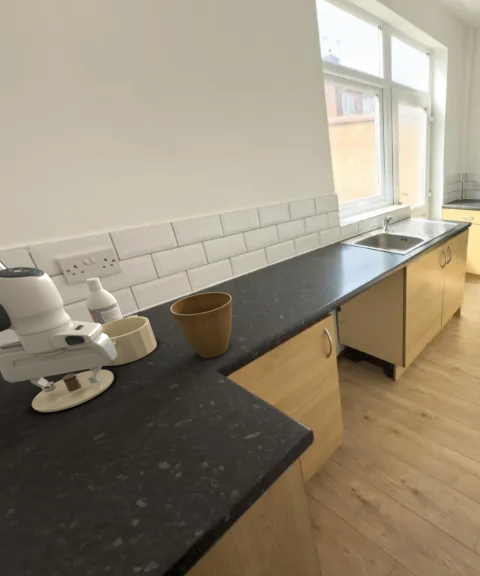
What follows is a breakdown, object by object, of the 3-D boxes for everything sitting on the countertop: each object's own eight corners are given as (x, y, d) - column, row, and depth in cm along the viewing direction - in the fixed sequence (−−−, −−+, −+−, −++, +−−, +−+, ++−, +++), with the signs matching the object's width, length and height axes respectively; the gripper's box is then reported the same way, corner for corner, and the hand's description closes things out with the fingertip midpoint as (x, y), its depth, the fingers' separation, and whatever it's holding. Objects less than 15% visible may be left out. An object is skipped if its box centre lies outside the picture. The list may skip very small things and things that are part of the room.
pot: (85, 376, 83) (72, 349, 80) (115, 341, 100) (105, 317, 97) (145, 365, 88) (136, 338, 84) (164, 333, 104) (157, 309, 101)
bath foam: (102, 335, 104) (78, 278, 96) (128, 329, 107) (107, 273, 100) (100, 344, 98) (74, 284, 91) (128, 337, 102) (105, 279, 94)
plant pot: (183, 372, 84) (165, 319, 78) (188, 345, 97) (173, 297, 91) (243, 357, 90) (231, 306, 84) (241, 334, 102) (230, 288, 96)
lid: (17, 421, 69) (7, 404, 67) (56, 380, 82) (48, 365, 80) (99, 404, 74) (91, 388, 72) (124, 368, 87) (118, 353, 85)
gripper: (-22, 353, 66) (9, 405, 71) (97, 334, 72) (117, 383, 78) (0, 338, 72) (27, 388, 77) (108, 322, 78) (127, 369, 83)
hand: (73, 385), depth 77 cm, fingers open, 8 cm apart
